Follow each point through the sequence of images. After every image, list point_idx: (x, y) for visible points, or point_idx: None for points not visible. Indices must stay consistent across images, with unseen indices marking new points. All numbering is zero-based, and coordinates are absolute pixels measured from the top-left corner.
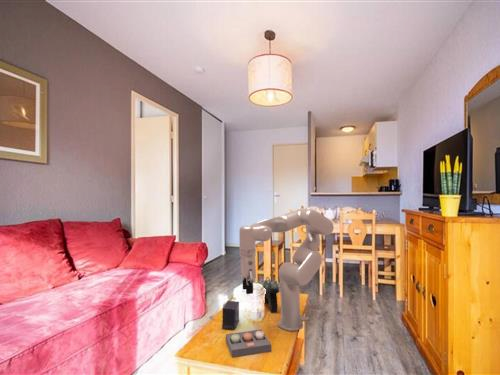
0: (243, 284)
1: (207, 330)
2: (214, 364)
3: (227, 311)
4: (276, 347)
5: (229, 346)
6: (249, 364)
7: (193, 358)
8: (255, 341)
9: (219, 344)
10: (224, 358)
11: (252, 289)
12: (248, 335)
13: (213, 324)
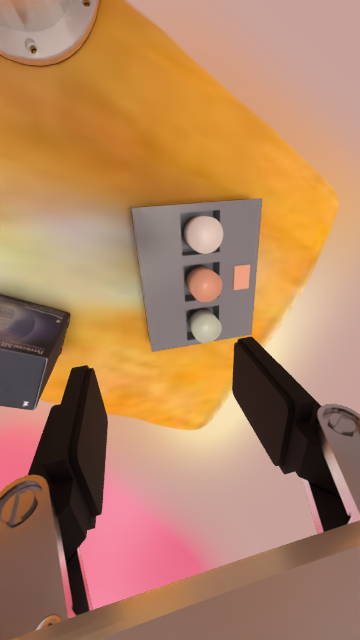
0: (103, 469)
1: None
2: None
3: (45, 378)
4: (230, 167)
5: None
6: (284, 283)
7: (217, 404)
8: (226, 256)
9: (166, 356)
10: None
11: (270, 363)
12: (215, 285)
13: None
